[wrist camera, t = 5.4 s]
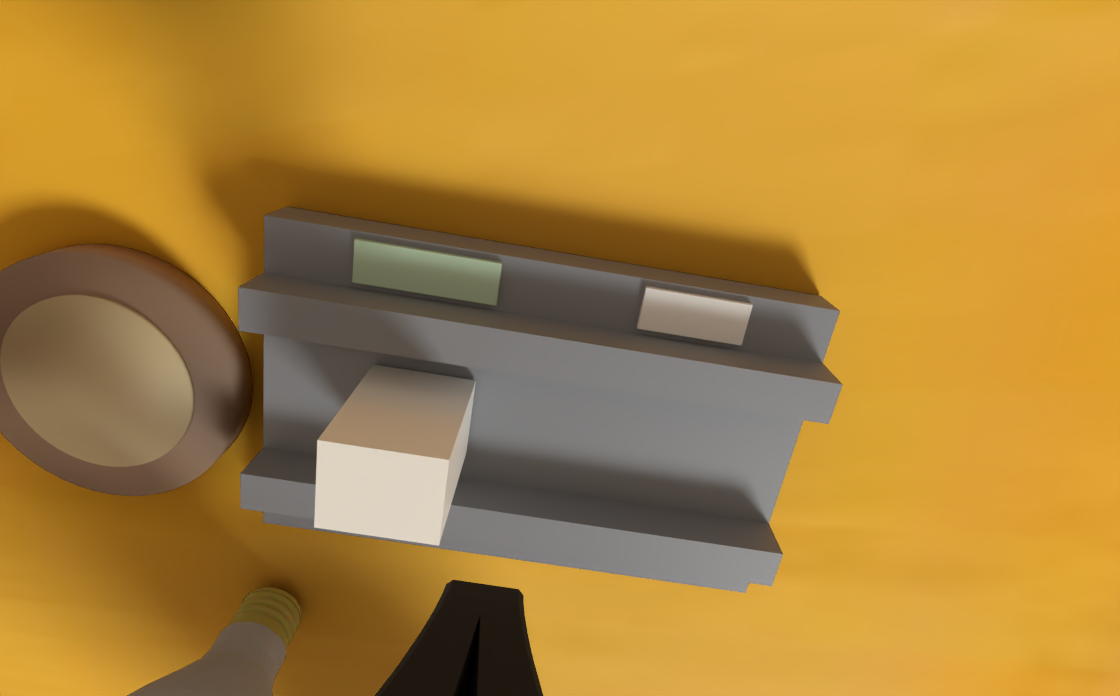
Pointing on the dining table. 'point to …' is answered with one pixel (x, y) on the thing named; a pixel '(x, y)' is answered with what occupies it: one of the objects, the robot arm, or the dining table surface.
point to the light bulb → (239, 651)
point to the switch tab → (394, 455)
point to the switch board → (548, 392)
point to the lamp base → (118, 370)
